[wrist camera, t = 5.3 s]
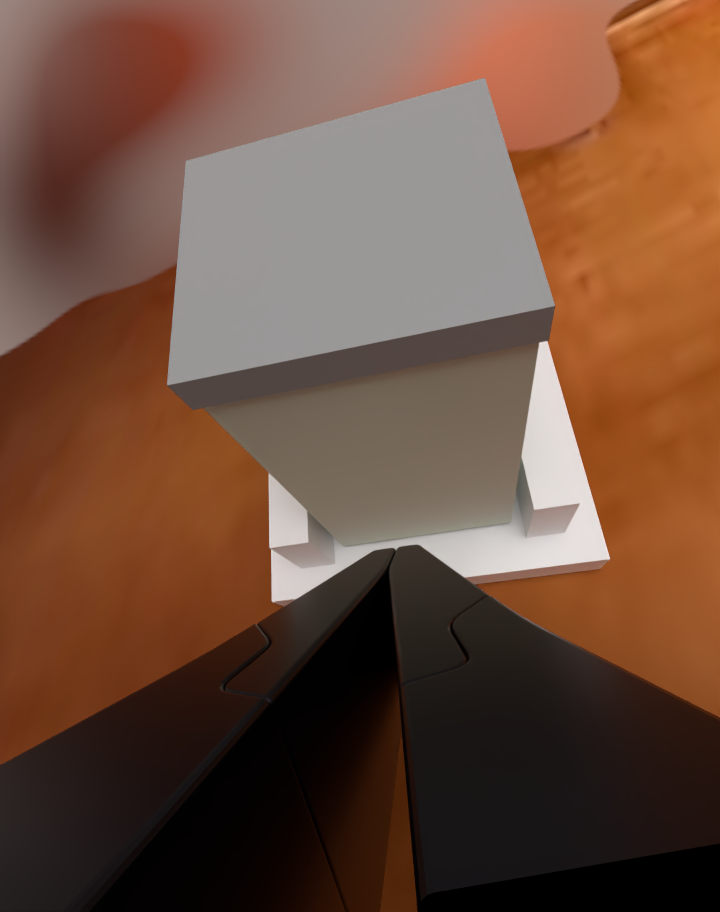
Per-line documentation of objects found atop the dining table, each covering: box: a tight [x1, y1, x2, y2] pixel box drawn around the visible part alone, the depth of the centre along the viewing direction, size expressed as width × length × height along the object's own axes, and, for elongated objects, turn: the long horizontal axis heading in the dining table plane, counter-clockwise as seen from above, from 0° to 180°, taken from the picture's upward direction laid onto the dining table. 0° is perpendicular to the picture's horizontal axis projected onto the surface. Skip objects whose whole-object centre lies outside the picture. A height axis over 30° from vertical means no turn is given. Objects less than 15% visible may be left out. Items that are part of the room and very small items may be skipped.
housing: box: [269, 341, 610, 606], centre depth 19 cm, size 13×11×4 cm
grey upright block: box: [167, 78, 555, 546], centre depth 13 cm, size 5×6×11 cm
